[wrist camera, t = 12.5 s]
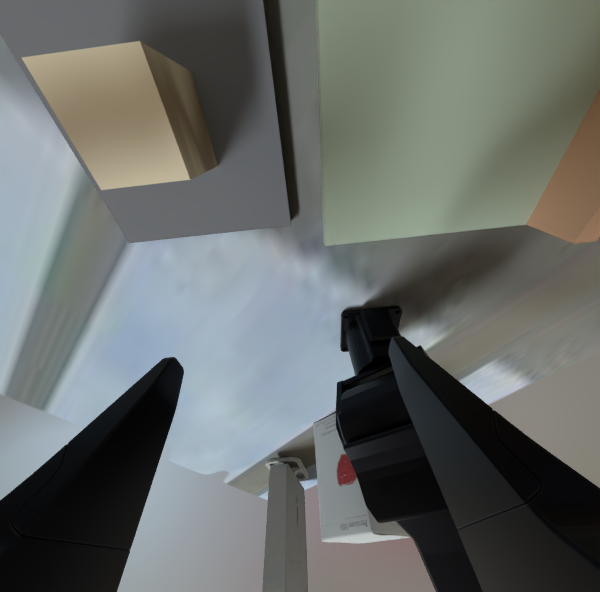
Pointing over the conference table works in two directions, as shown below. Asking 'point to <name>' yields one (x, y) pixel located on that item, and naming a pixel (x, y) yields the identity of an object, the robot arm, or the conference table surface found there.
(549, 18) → the sliding cover
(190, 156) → the beech block
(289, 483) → the network device
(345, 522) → the supplement box
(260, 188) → the charcoal mat
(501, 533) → the robot arm
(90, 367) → the conference table surface
